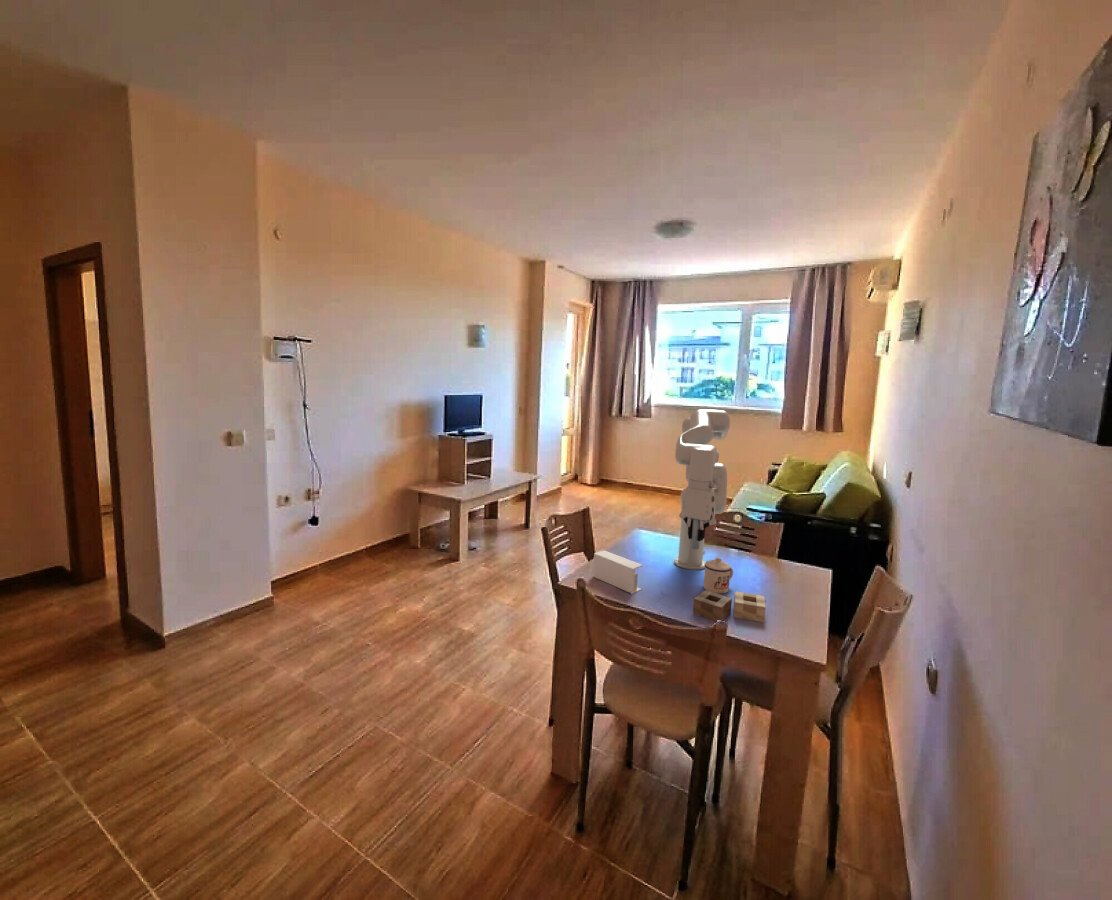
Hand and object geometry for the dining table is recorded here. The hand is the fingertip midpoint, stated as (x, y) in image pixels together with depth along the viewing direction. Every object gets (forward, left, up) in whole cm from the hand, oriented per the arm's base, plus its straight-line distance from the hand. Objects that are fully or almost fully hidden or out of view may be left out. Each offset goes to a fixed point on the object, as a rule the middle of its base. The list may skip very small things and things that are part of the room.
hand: (695, 538), depth 171 cm
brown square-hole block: (+4, +9, -22) cm, 24 cm away
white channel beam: (+5, -27, -22) cm, 35 cm away
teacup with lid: (-17, +3, -22) cm, 28 cm away
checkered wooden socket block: (-4, +18, -22) cm, 29 cm away
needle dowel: (0, 0, -3) cm, 3 cm away
